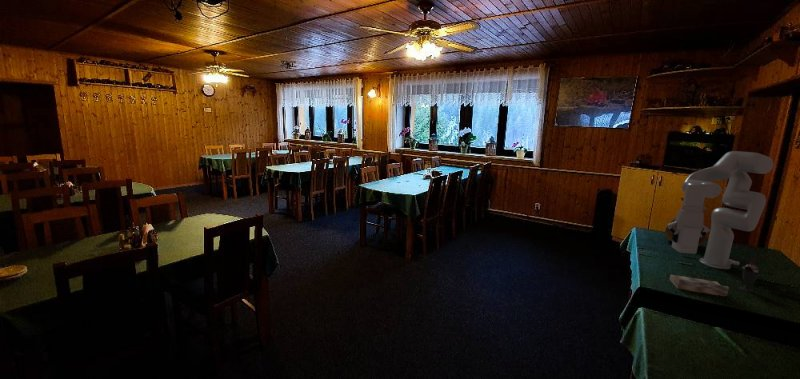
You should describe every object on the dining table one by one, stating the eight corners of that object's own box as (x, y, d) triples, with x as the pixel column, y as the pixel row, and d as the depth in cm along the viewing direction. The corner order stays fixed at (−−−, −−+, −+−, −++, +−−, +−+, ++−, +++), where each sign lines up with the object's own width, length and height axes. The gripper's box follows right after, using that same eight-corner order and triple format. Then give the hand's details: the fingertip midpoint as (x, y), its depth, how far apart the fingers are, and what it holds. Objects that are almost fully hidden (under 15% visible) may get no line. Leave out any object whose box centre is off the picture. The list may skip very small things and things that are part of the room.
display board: (715, 286, 160) (717, 277, 159) (726, 296, 151) (729, 287, 150) (669, 279, 166) (671, 270, 166) (677, 288, 157) (679, 279, 156)
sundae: (750, 287, 160) (758, 258, 157) (759, 294, 154) (768, 263, 151) (732, 285, 162) (740, 255, 159) (741, 291, 156) (749, 261, 153)
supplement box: (696, 254, 163) (702, 229, 161) (679, 252, 165) (684, 228, 162) (687, 248, 170) (692, 224, 168) (670, 246, 172) (675, 223, 169)
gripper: (711, 208, 163) (703, 242, 167) (667, 204, 169) (661, 237, 173) (718, 212, 156) (710, 248, 160) (672, 208, 162) (666, 243, 166)
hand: (685, 242), depth 167 cm, fingers closed on supplement box, 8 cm apart
